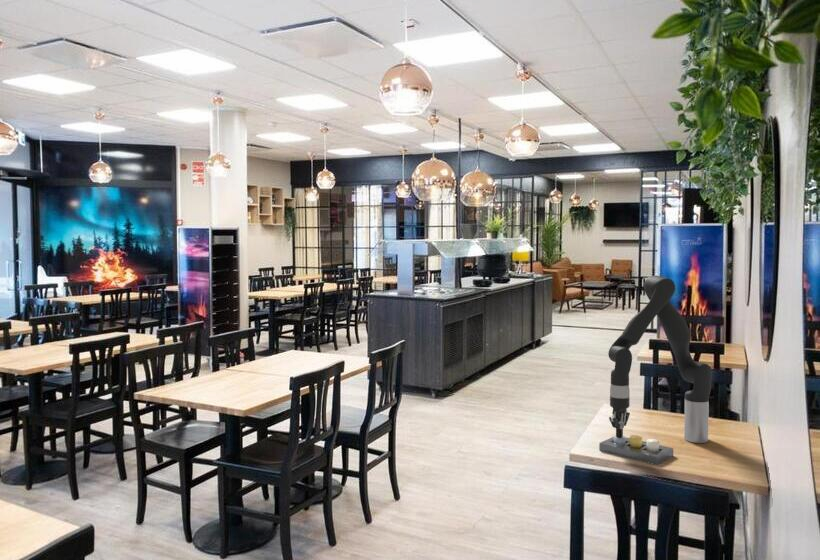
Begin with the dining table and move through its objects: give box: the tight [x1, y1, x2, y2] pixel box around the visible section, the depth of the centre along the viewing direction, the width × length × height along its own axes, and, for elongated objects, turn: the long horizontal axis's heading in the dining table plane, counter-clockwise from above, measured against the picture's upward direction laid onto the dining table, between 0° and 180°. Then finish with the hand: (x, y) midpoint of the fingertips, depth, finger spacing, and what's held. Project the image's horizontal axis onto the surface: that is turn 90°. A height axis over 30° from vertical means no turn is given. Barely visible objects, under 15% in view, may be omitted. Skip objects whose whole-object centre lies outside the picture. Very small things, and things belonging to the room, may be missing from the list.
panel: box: [598, 436, 674, 466], centre depth 253 cm, size 14×24×3 cm, turn 43°
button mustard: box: [629, 434, 643, 449], centre depth 253 cm, size 5×5×4 cm
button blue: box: [613, 435, 626, 445], centre depth 258 cm, size 5×5×4 cm
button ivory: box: [646, 438, 660, 453], centre depth 248 cm, size 5×5×4 cm
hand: (619, 437), depth 258 cm, fingers closed
